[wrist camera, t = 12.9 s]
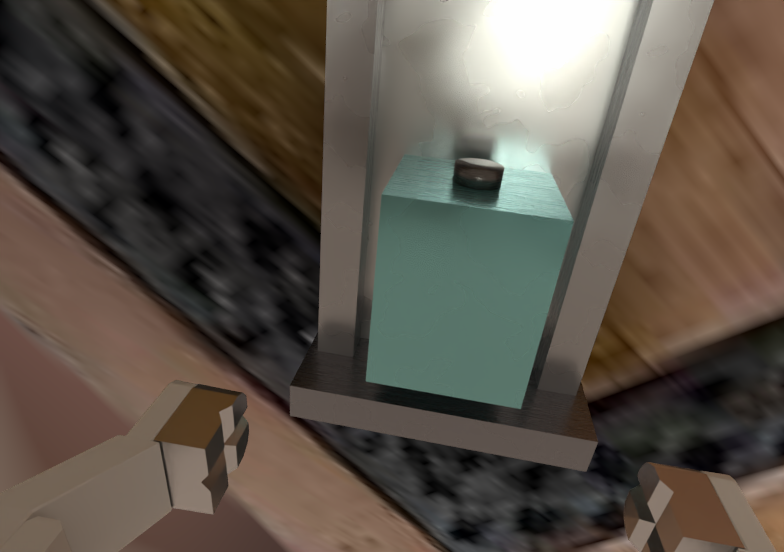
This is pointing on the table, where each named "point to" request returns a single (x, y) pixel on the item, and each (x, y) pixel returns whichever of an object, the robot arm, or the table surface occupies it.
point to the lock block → (464, 277)
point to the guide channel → (510, 149)
